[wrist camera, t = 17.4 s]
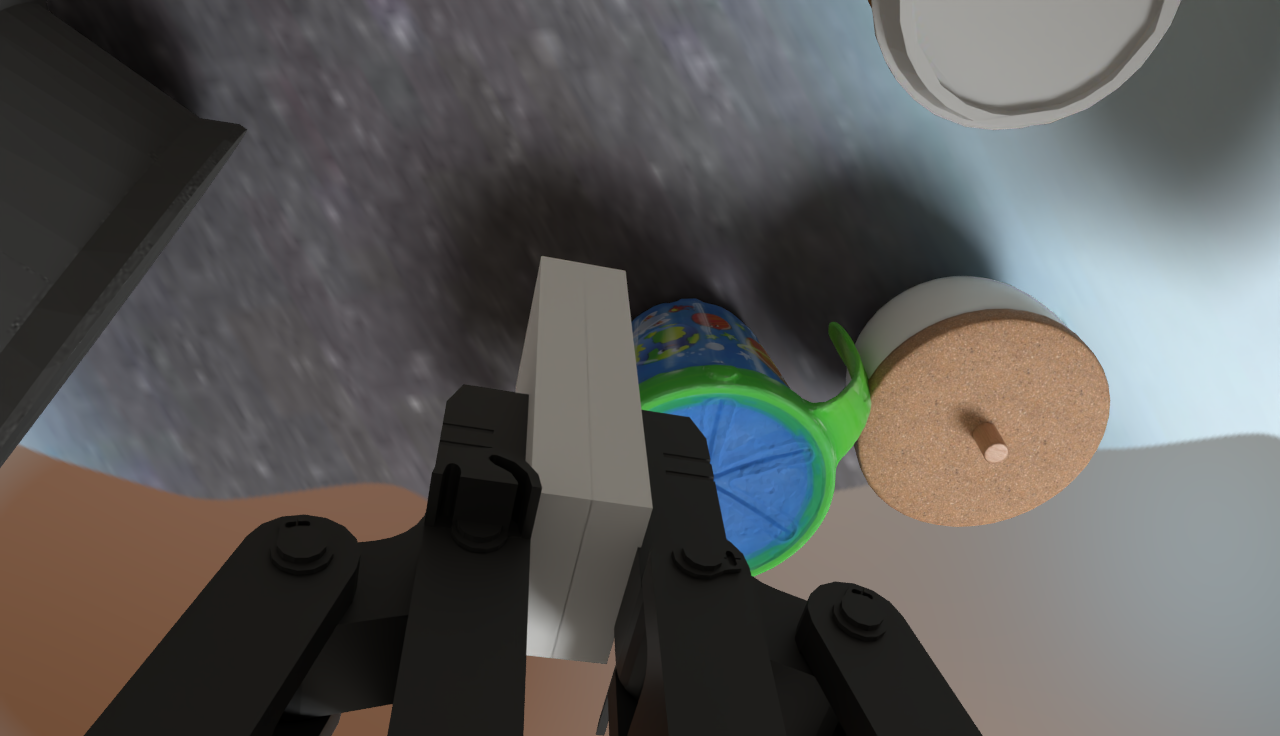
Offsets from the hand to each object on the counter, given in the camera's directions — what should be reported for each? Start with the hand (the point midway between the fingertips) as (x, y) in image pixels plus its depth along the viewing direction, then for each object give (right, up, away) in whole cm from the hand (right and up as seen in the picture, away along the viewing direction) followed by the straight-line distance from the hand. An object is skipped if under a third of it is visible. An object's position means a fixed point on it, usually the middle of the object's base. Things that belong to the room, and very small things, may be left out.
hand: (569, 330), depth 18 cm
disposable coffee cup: (+12, +17, +22) cm, 30 cm away
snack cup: (+3, 0, +32) cm, 32 cm away
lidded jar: (+16, +1, +32) cm, 35 cm away
